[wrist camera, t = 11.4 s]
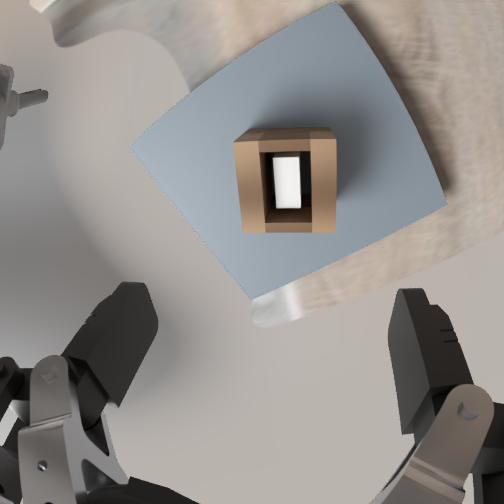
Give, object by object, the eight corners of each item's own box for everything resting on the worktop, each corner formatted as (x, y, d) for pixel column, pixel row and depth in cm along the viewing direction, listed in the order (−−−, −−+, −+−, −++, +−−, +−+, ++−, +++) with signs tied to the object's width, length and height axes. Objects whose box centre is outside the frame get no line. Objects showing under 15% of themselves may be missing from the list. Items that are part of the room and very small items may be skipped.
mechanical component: (64, 52, 21) (-14, 60, 13) (43, 142, 27) (-25, 175, 18) (46, 48, 21) (-29, 57, 13) (27, 135, 26) (-39, 165, 18)
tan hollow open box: (247, 129, 22) (232, 142, 18) (329, 127, 21) (336, 139, 17) (254, 203, 25) (242, 232, 21) (330, 203, 24) (335, 232, 20)
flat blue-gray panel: (333, 6, 17) (342, -15, 12) (439, 195, 24) (467, 226, 18) (139, 141, 26) (102, 159, 20) (254, 287, 32) (243, 329, 27)
